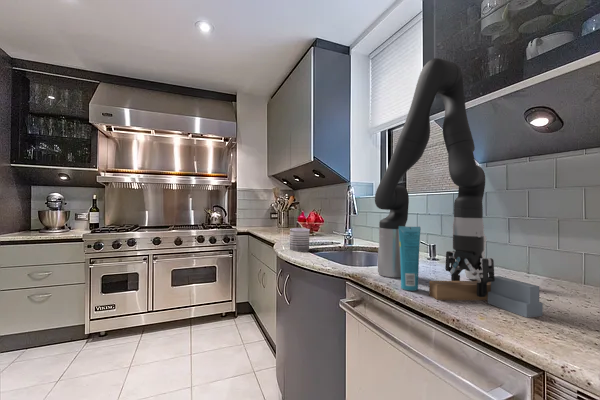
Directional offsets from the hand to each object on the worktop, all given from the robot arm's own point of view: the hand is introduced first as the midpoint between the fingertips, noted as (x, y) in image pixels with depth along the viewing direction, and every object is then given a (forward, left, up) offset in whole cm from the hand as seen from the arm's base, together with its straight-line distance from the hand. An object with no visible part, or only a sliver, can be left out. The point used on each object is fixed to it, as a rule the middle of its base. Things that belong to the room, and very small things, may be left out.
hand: (468, 291), depth 80 cm
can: (-92, -24, -2) cm, 95 cm away
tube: (-11, -11, -2) cm, 16 cm away
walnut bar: (0, 0, -2) cm, 2 cm away
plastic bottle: (-16, +20, -2) cm, 26 cm away
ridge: (+10, +4, -2) cm, 11 cm away
